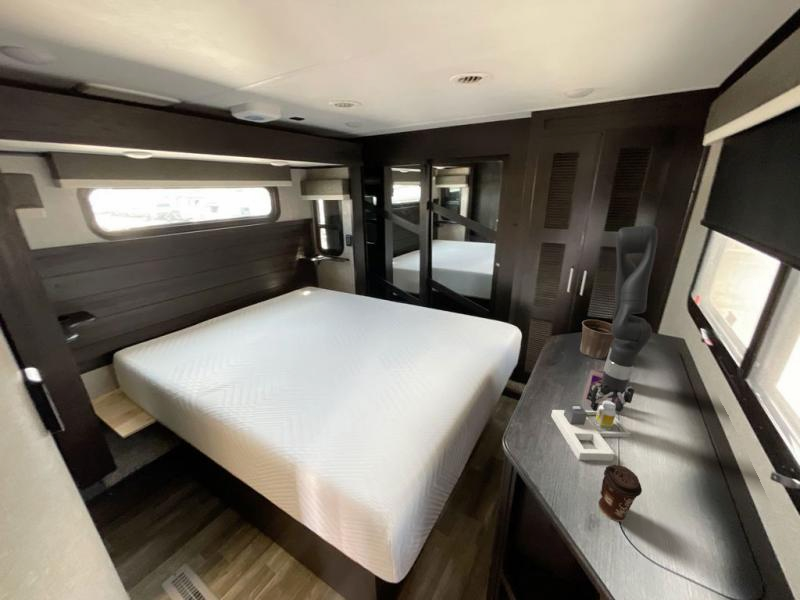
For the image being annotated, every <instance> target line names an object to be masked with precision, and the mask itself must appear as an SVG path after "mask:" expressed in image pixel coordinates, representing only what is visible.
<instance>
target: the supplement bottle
mask: <svg viewBox="0 0 800 600" xmlns="http://www.w3.org/2000/svg"><path fill="white" fill-rule="evenodd" d="M615 408H616V405H615V404H614V403H613V402H610V401H603V404H602V405H600V406H599V407H598V408H597V411H598V412H597V415H595V419H594V424H595V425H596V426H597V427H598V428H601V429H603V430H610V429H612V427H613V424H614V422H613V421H614V418H615V417H616V415H617V411H615Z"/></svg>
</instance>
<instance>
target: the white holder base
mask: <svg viewBox="0 0 800 600" xmlns="http://www.w3.org/2000/svg"><path fill="white" fill-rule="evenodd" d="M585 410H586V409H584V408H583V406H582V405H581V404H580V403H566V404H565V407H564V409H552V411H551V419H552V420H553V421H554V423H555V424H556V426H557V428H558V429H559V431H560V432H561V435H562V436H563V438H564V439H565V441H566V442H567V444H568V445H570V446H569V448H570V449H571V451H572V452H573V454H574V455H575V457H576V458H577V460H578V461H611V462H612V461H613V459H614V457H615V455H616V454H615V452H614V451H613V450H612V448H611V447H610V446H609V444H608V443H607V442H606V440H605V439H604V438H603V436H601V435H600V434H599V433H598V429H597V428H596V427H595V426H593V425H594V424H593V423H592V422H590V421H591V420H590V419H589V418H588V415H587V413H586V411H585ZM588 419H589V420H590V421H589V420H588ZM591 423H592V424H593V425H592V424H591ZM595 428H596V429H597V430H596V429H595ZM580 441H591V442H592V444H593V445H594V446H595V448H585V447H584V446H583V444H582V443H581V442H580Z"/></svg>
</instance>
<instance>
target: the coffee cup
mask: <svg viewBox="0 0 800 600" xmlns="http://www.w3.org/2000/svg"><path fill="white" fill-rule="evenodd" d="M603 476H604V477H603V479H602V482H601V489H600V491H599V493H600V495H601V498H600V499H599V500H598V508H599V509H600V512H601V513H602V514H603V515H604V516H605V517H606V518H608V519H609V520H613V521H616V522H623V521H625V519H626V516H627V512H628V511H629V510H630V509H631V507H632V505H633V502H634V501H635V499H636V498H637V497H639V496H640V495H641V494H642V492H643V489H642V484H641V483H640V480H639V478H638V475H636V474H635V472H633V470H631V469H629V468H628V467H626V466H623V465H621V464H610V465H607V466H606V467H605V469H604V472H603Z"/></svg>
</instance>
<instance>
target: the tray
mask: <svg viewBox="0 0 800 600" xmlns="http://www.w3.org/2000/svg"><path fill="white" fill-rule="evenodd" d="M584 410H585V411H586V413H587V416H596V415H597V412H598V410H597V411H593V410H589V409H587V410H586V409H584ZM588 420H589V421H590V422H591V420H590V419H589V418H588ZM591 424H592V425H593V426H594V424H593V423H592V422H591ZM613 424H615V425H616V426H617V428H618V429H619V430H620V431H598V429H597V428H596V427H595V426H594V427H595V429H596V430H597V431H598V433H599V434H600V435H601V437H606V438H608V437H609V438H610V437H612V438H613V437H614V438H615V437H616V438H617V437H618V438H629V437H630V435H631V433H630V432H629V430H628V429H626V427H625V426H624V425H623V424H622V423H621V422H620V420H618V418H617V417H616V416H615V418H614V421H613Z"/></svg>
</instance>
